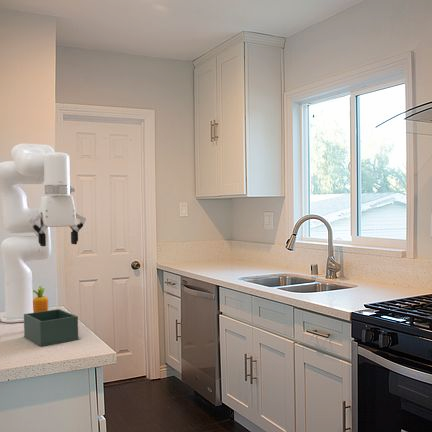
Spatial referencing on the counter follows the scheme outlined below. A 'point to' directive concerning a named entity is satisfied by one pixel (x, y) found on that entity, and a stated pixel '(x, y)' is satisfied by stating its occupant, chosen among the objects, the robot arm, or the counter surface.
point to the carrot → (40, 301)
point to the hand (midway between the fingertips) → (58, 245)
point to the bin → (50, 327)
